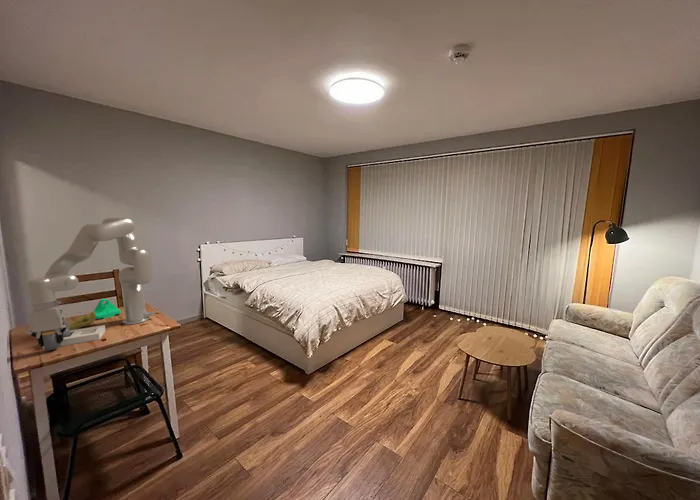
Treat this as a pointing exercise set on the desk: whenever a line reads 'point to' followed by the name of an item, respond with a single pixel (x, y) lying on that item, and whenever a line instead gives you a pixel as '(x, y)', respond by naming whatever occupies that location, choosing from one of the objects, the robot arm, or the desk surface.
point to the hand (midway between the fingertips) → (51, 343)
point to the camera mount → (105, 309)
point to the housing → (83, 335)
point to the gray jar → (50, 340)
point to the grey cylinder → (66, 332)
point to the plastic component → (82, 321)
